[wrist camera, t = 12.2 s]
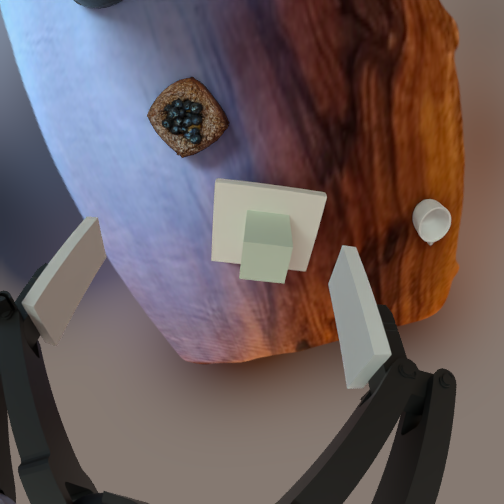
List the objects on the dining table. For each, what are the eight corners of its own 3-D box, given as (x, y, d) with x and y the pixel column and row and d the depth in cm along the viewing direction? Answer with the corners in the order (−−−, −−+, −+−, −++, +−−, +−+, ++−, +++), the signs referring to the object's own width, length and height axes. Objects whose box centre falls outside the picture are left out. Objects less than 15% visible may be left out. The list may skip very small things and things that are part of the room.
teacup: (407, 197, 49) (419, 211, 45) (439, 190, 47) (452, 203, 43) (407, 238, 55) (417, 254, 51) (437, 231, 53) (448, 246, 49)
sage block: (247, 209, 48) (243, 241, 41) (289, 215, 48) (293, 247, 41) (243, 244, 52) (239, 278, 45) (282, 248, 52) (284, 283, 45)
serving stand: (219, 171, 48) (215, 182, 45) (322, 185, 49) (326, 196, 45) (214, 246, 58) (211, 260, 55) (303, 256, 59) (305, 271, 55)
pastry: (186, 160, 48) (177, 173, 43) (143, 110, 42) (129, 117, 37) (238, 123, 43) (234, 132, 39) (193, 68, 38) (183, 69, 33)
